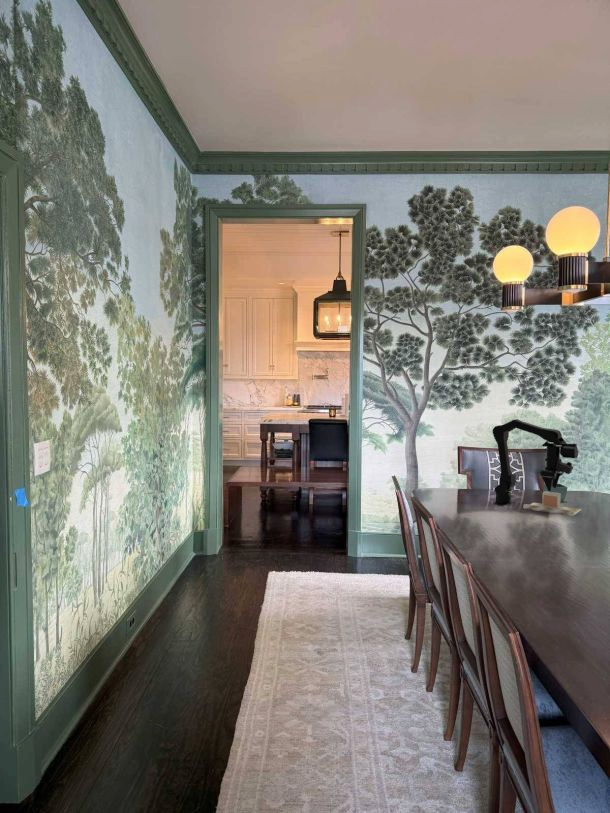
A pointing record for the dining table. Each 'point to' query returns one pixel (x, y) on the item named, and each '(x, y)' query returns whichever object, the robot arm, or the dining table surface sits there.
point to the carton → (551, 500)
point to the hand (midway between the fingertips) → (552, 489)
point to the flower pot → (558, 490)
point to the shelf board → (551, 509)
